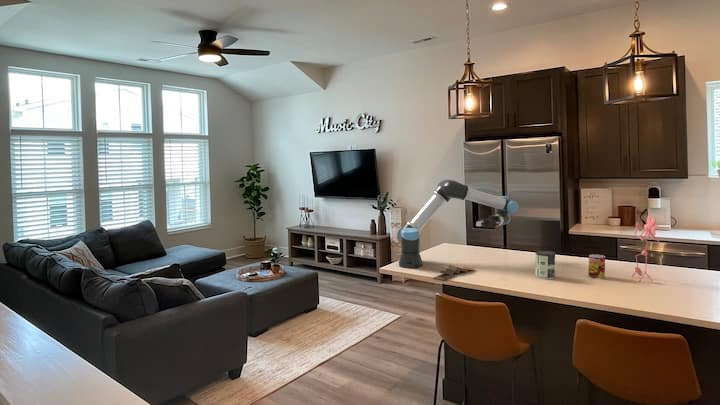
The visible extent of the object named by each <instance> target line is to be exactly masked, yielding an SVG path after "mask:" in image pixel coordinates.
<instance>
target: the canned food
mask: <svg viewBox="0 0 720 405" xmlns="http://www.w3.org/2000/svg"><path fill="white" fill-rule="evenodd" d="M605 270H606V256H605V255H602V254H589V255H588V277H589V278H590V277H591V278H592V279H595V278H598V280H600V279H599V278H604V279H605V276H606V274H605V273H606V271H605ZM591 278H590V279H591Z"/></svg>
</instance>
